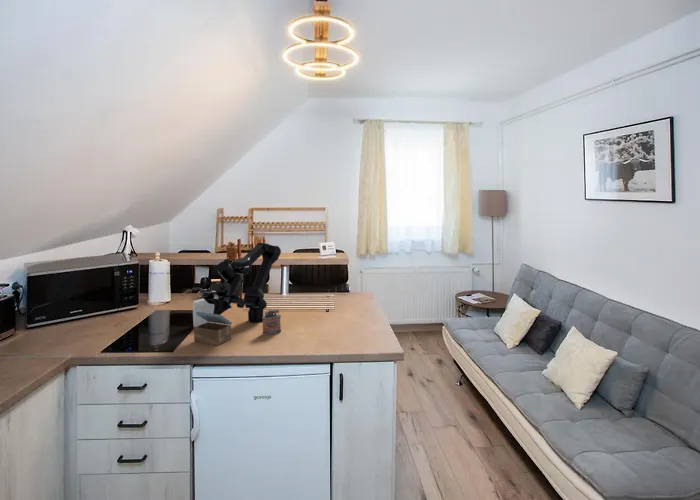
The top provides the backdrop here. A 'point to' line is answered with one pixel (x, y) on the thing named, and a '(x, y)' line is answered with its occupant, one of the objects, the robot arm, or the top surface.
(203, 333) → the walnut box
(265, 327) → the lighter
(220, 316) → the lid
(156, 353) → the top surface
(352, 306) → the top surface
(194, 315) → the photo printer
